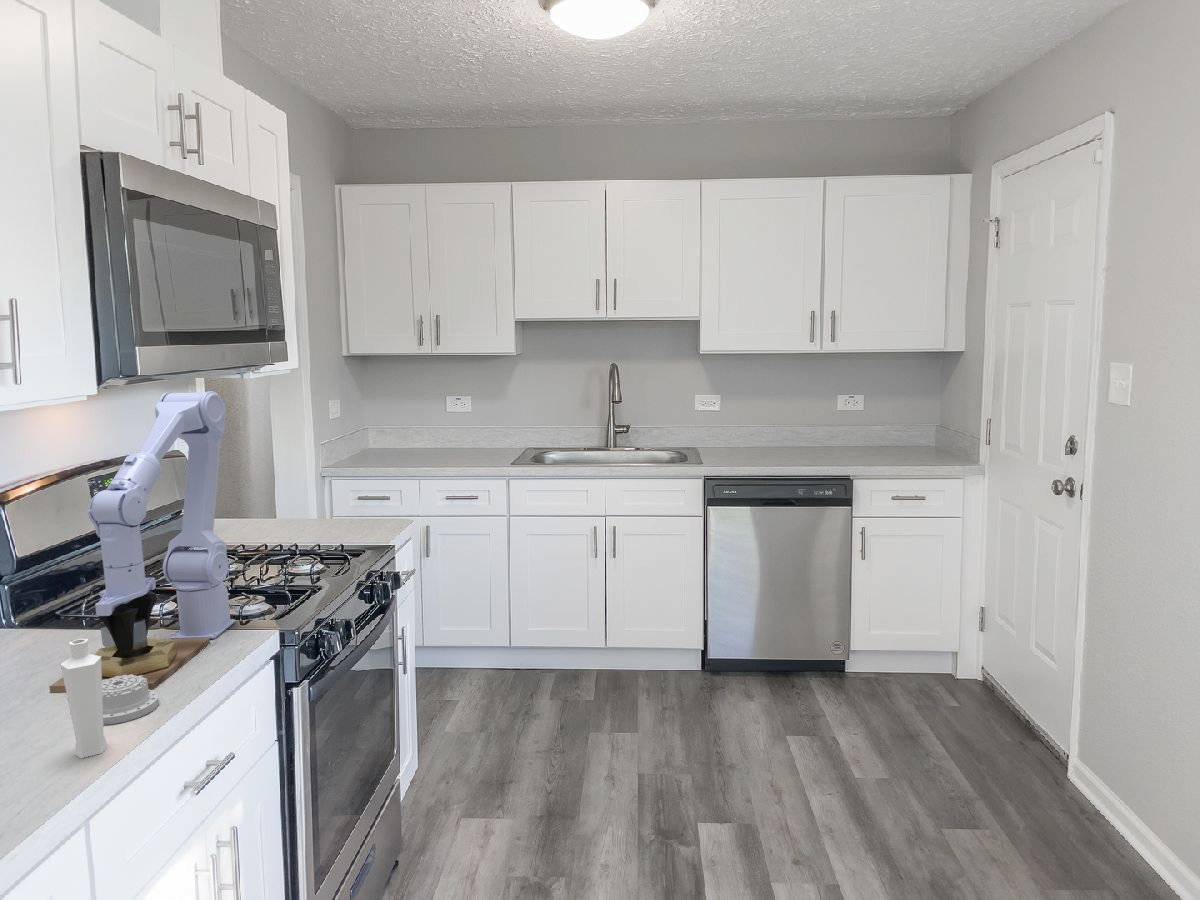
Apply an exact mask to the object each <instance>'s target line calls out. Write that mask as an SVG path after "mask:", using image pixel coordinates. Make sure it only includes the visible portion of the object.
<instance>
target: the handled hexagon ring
mask: <svg viewBox="0 0 1200 900" xmlns="http://www.w3.org/2000/svg"><path fill="white" fill-rule="evenodd" d="M100 633H101V635H100V637H101V642H102V646H103V647H101V648H99V649H98V650H97V651H96V652H95V654H94V655H96V656H101V671H102V677H112V678H113V677H116V676H123V675H130V674H133V675H138V674H142V673H145V672H149V671H153V670H157V669H160V668H164V667H168V666H169V664H170V663H171V661H172V660H173V658H174V656H175V655H176V653H177V644H176V641H175V640H164V638H163V639H161V638H152V637H151V638H148V637H147V643H148V653H147V654H143V655H139V656H135V657H131V658H121V654H120V651H118V650H117V648H116V645H115V643H114V641H113V638H112V636H111V634H110V632H109V630H108V628H107V627H106V626H104V627H101V628H100Z"/></svg>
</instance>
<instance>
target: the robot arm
mask: <svg viewBox="0 0 1200 900" xmlns="http://www.w3.org/2000/svg"><path fill="white" fill-rule="evenodd" d="M226 411H227V407H226V405H225V404H224V402H223V400H222V398H221V396H220V395H219V393H217V392H215V391H212V390H210V391H203V392H202V391H199V392H198V391H195V392H172V391H168V392H167V391H166V392H165V393H162V395H161V396H160V398H159V399H158V402H157V404H156V405H155V406H154V412H155V413H154V414H155V418H156V419H155V421H154V423H153V425H152V426H151V429H150V431H149V433H148V435H147V436H146V438H145V440H144V442H143V444H142V447H140V448H141V449H140V450H139V452H134V453H131V454H129V455H127V456H126V457H125V459H124V460H123V463H122V464H121V466H120V467H119V469H118V471H117V472H116V473H115V476H114V477H113V478H112V480H111V482H110V483H109V485H107V488H106V489H102V490H101V491H98V492H97V493H96V494H95V495H94V496H93V497H92V498H91V501H90V502H89V508H88V509H89V510H87V515H88V518H89V520H90V522H91V523H92V524H93V526H94V529H95V534H96V536H97V537H98V538H100V539H99V540H100V549H101V559H102V566H103V567H102V568H103V574H104V583H105V585H104V586H105V589H103V590H100V592H99V597H101V598H100V600H99V601H98V602H96V603H95V605H94V606H95V614H96V617H97V618H98V619H100V621H101V622H102V623H103V624H104V626H105V627H107V628H108V630H109V632H110V634H111V636H112V638H113V641H114V643H115V645H116V648H117V650H118V651H129V650H131V649H132V648H133V628H134V621H135V617H141V618H145V624H146V633H147V634H149V633H148V632H149V626H150V618H151V616H152V612H153V609H154V606H155V604H156V602H157V600H158V596H157V594H156V593H148V592H149V591H153V590H156V589H157V587H156V586H157V585H156V578H155V577H146V572H145V571H146V570H145V563H144V554H143V553H144V551H143V545H142V534H141V525H140V524H141V523H142V522H143V520H144V519H145V518H146V516H147V511H148V503H149V501H150V496H149V494H150V492H151V490H152V489H153V487H154V486H155V484H156V482H157V481H158V480H159V478H160V476H161V475H162V472H163V469H162V466H161V461H162V459H164V457H165V455H166V454H167V453H168V452H169V450H170V449H171V447H172V446H173V444H175V442H176V441H177V440H178V439H180V440H183V441H184V442H185V443H186V445H187V446H188V455H187V464H186V465H187V466H186V479H185V489H184V500H183V511H182V521H181V522H182V523H181V531H180V533H178V534H177V535H176V536H175V537H173V538H172V539H171V540H169V542H168V547H167V552H166V555H165V557H164V560H163V562H162V572H163V576H164V578H165V580H166V581H167V583H170V584H171V588H172V589H175V590H176V600H177V601H176V602H177V609H178V612H177V613H178V622H179V628H180V629H179V631H177V632H176V633H174V635H172V636H171V637H170V639H198V638H209V639H210V640H211V639H215V638H217V637H218V636H220V635H221V634H222V633H224V631H226V630H227V629H228V628H230V627H231V626H232V625H233V624H234V623H236V619H235V618H232V619H231V614H230V613H231V612H230V603H229V602H230V601H229V592H228V588H227V585H226V584H225V583H224V580H225V579H226V577H227V575H228V573H229V565H230V564H229V559H228V554H227V551H228V550H227V545H228V544H227V543H226V542H225V541H224V540H223V539H222V538H221V537H219V536H218V535H217V534H216V533H215V532H214V527H215V526H214V525H215V513H216V503H217V492H218V491H217V490H218V479H219V477H218V475H219V464H220V452H221V441H222V440H223V438H224V435H225V424H226V413H227V412H226ZM192 548H205V549H192Z"/></svg>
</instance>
